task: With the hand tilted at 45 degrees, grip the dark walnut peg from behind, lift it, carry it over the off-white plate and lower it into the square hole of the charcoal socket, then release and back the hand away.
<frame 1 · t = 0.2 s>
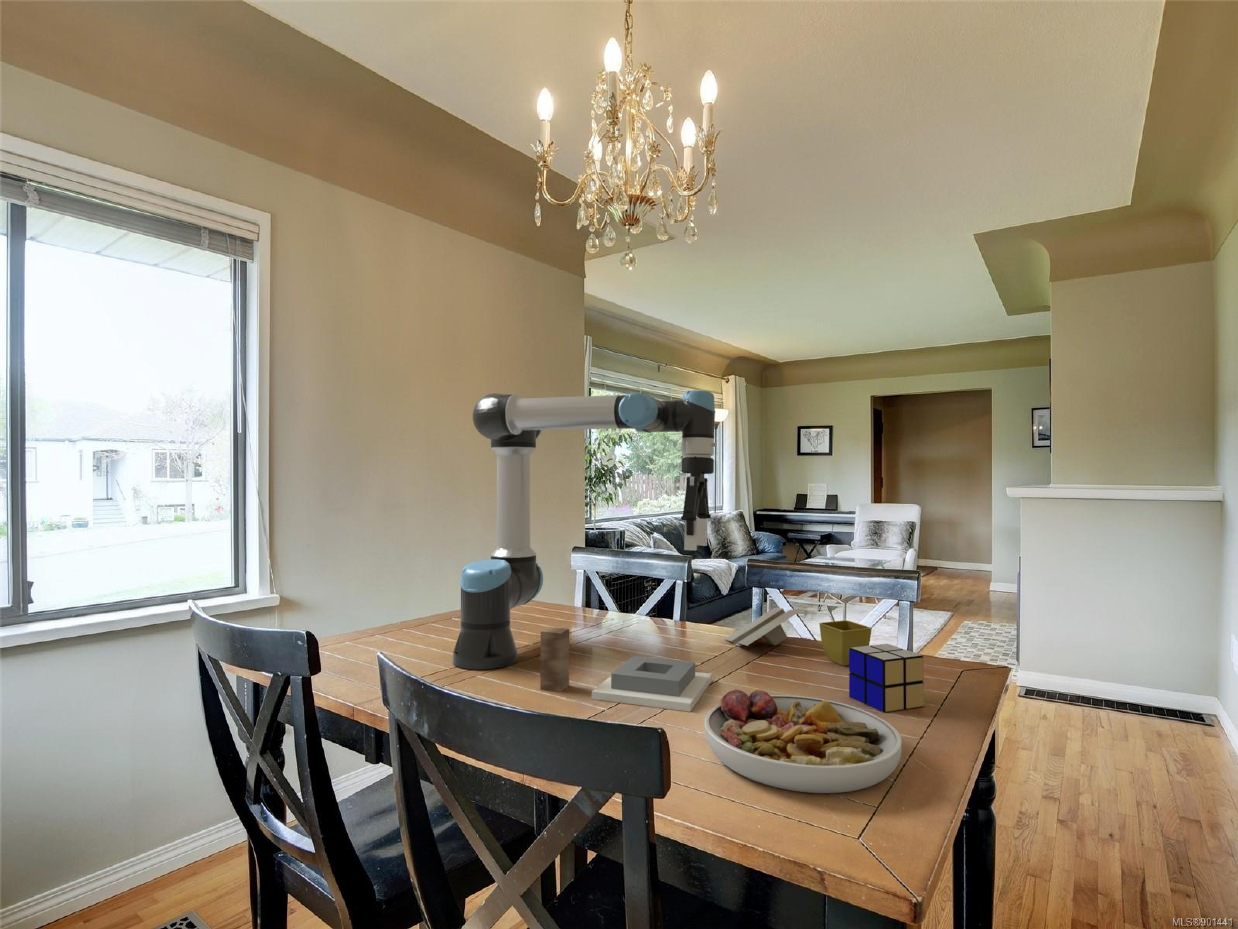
hand: (696, 547, 154), 28 cm above the table, fingers open, 13 cm apart
socket plate: (654, 689, 137), on the table
puzzle cube: (885, 703, 130), on the table
grey sloped stand: (761, 647, 173), on the table
walnut peg: (554, 687, 138), on the table
flower pot: (845, 663, 158), on the table
bowl: (799, 758, 105), on the table
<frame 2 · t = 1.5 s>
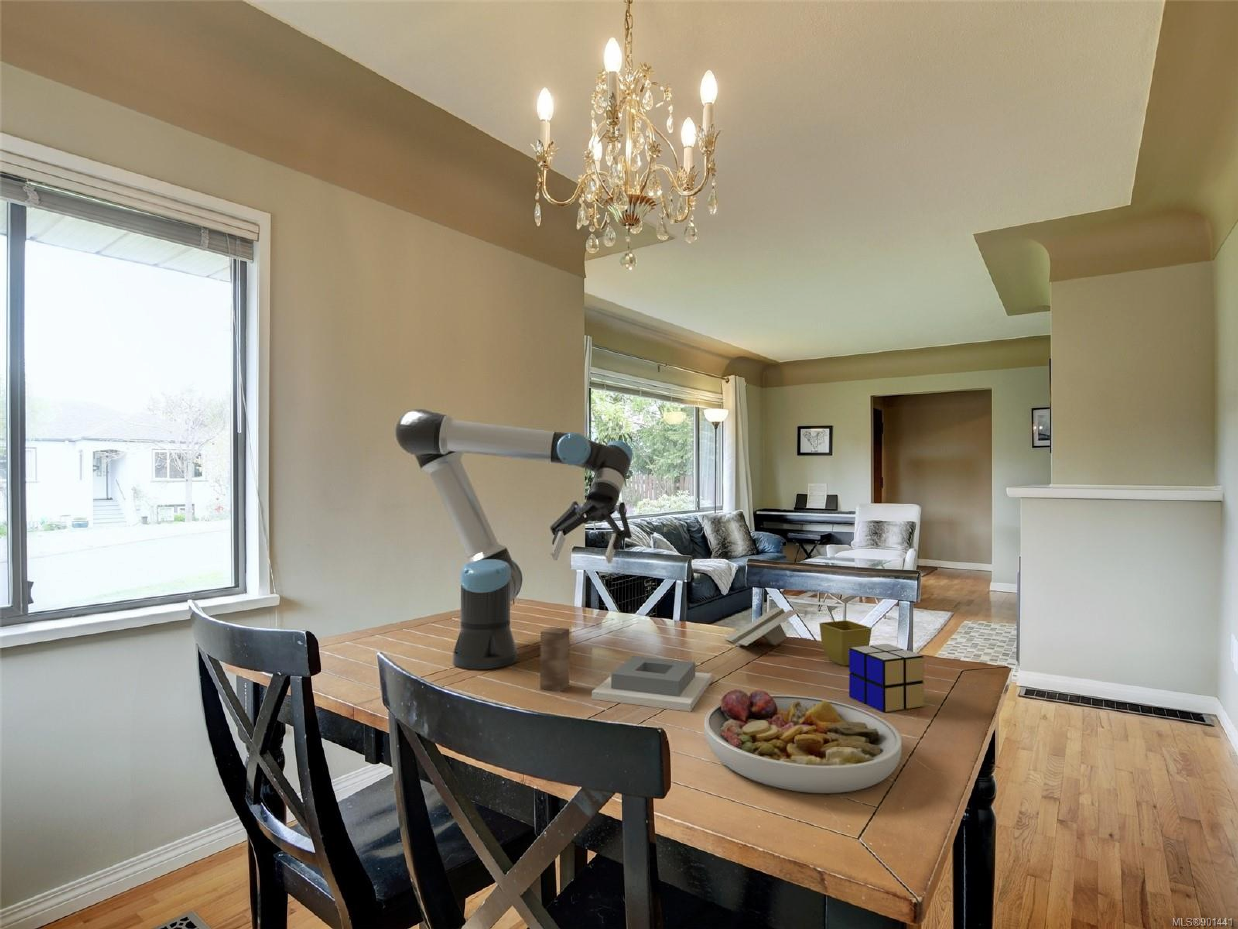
hand: (580, 558, 151), 26 cm above the table, fingers open, 13 cm apart
nothing on the table moved.
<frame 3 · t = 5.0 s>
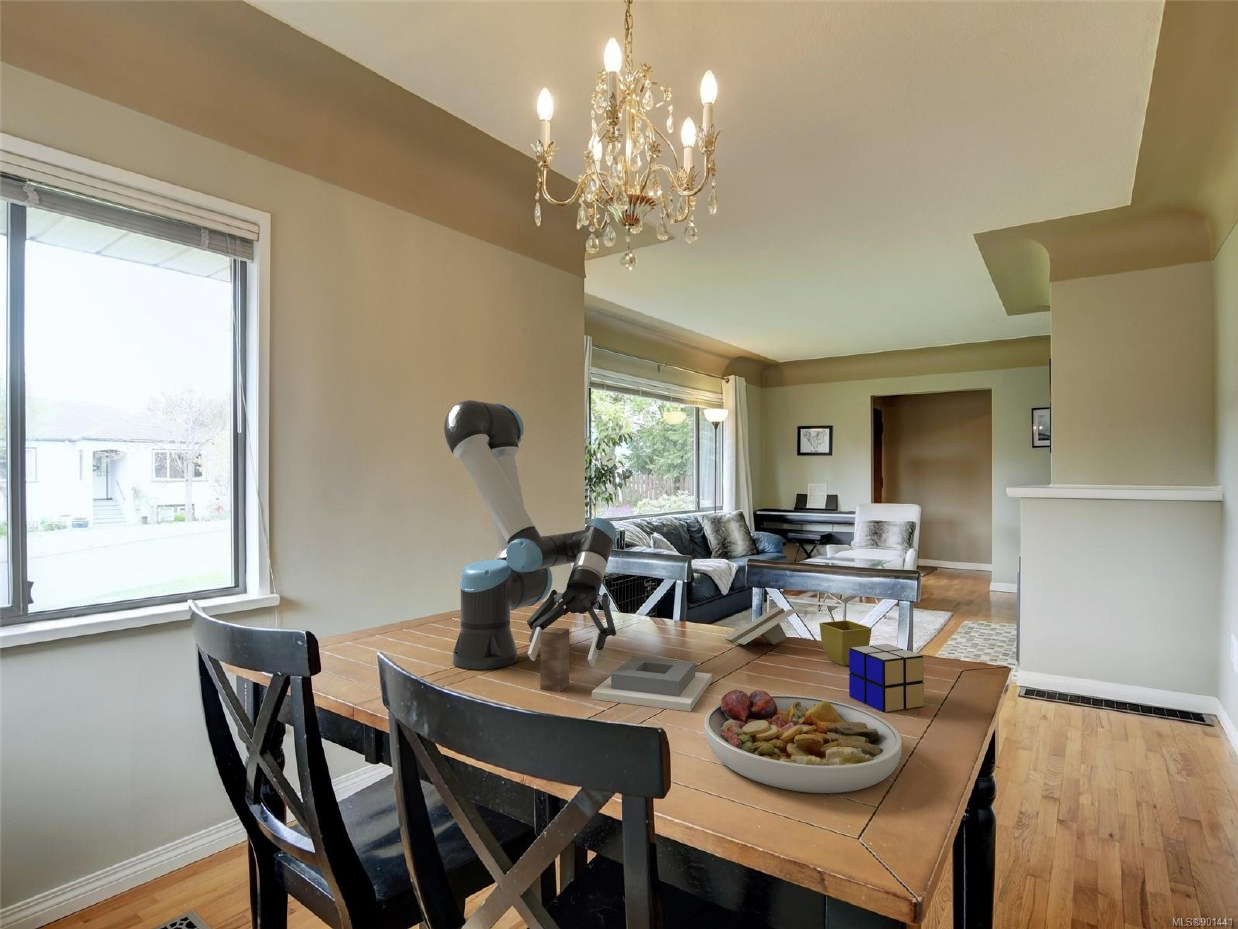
hand: (560, 660, 138), 6 cm above the table, fingers open, 13 cm apart
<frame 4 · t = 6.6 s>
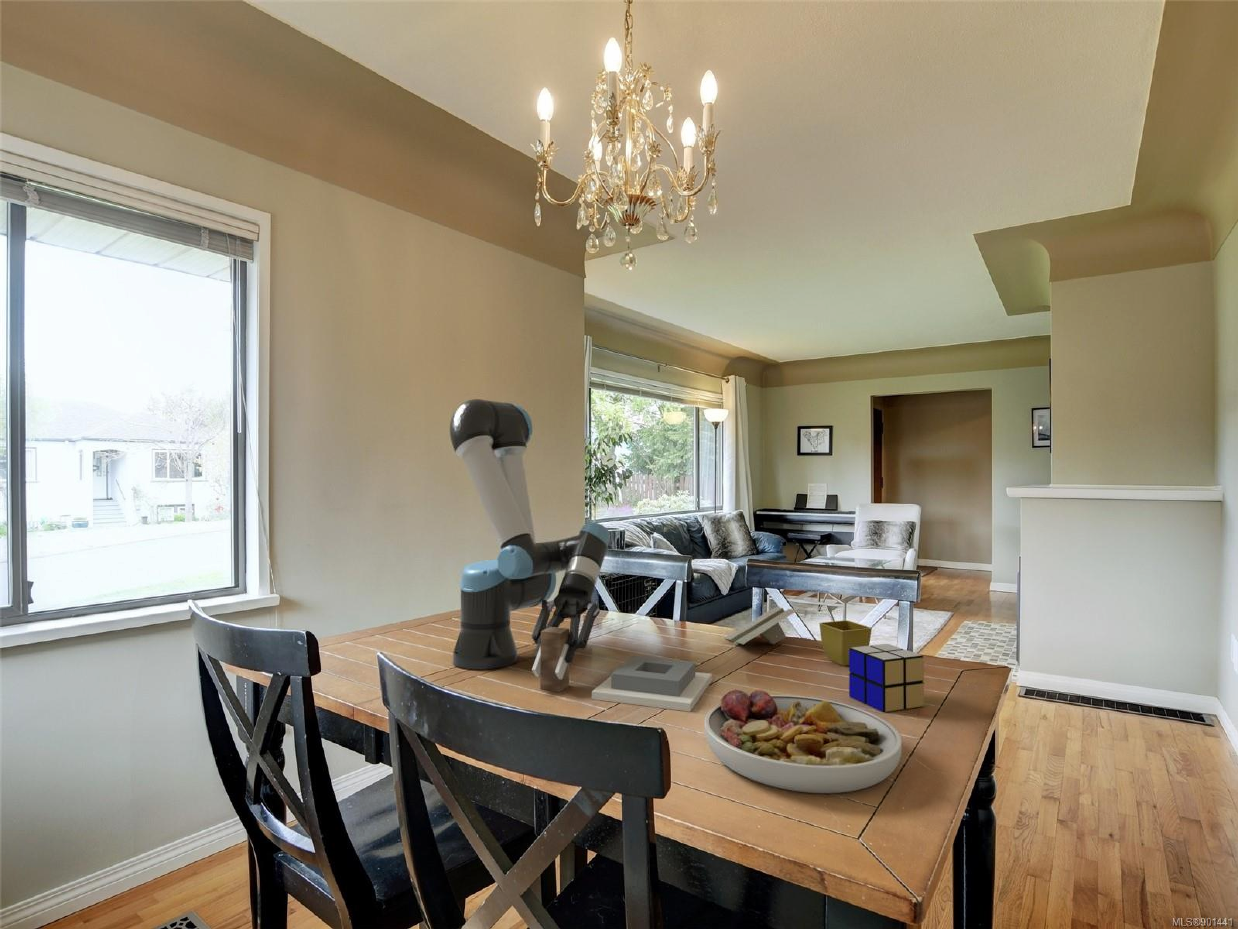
hand: (547, 674, 135), 4 cm above the table, fingers closed on walnut peg, 4 cm apart
walnut peg: (554, 687, 138), on the table, touching gripper
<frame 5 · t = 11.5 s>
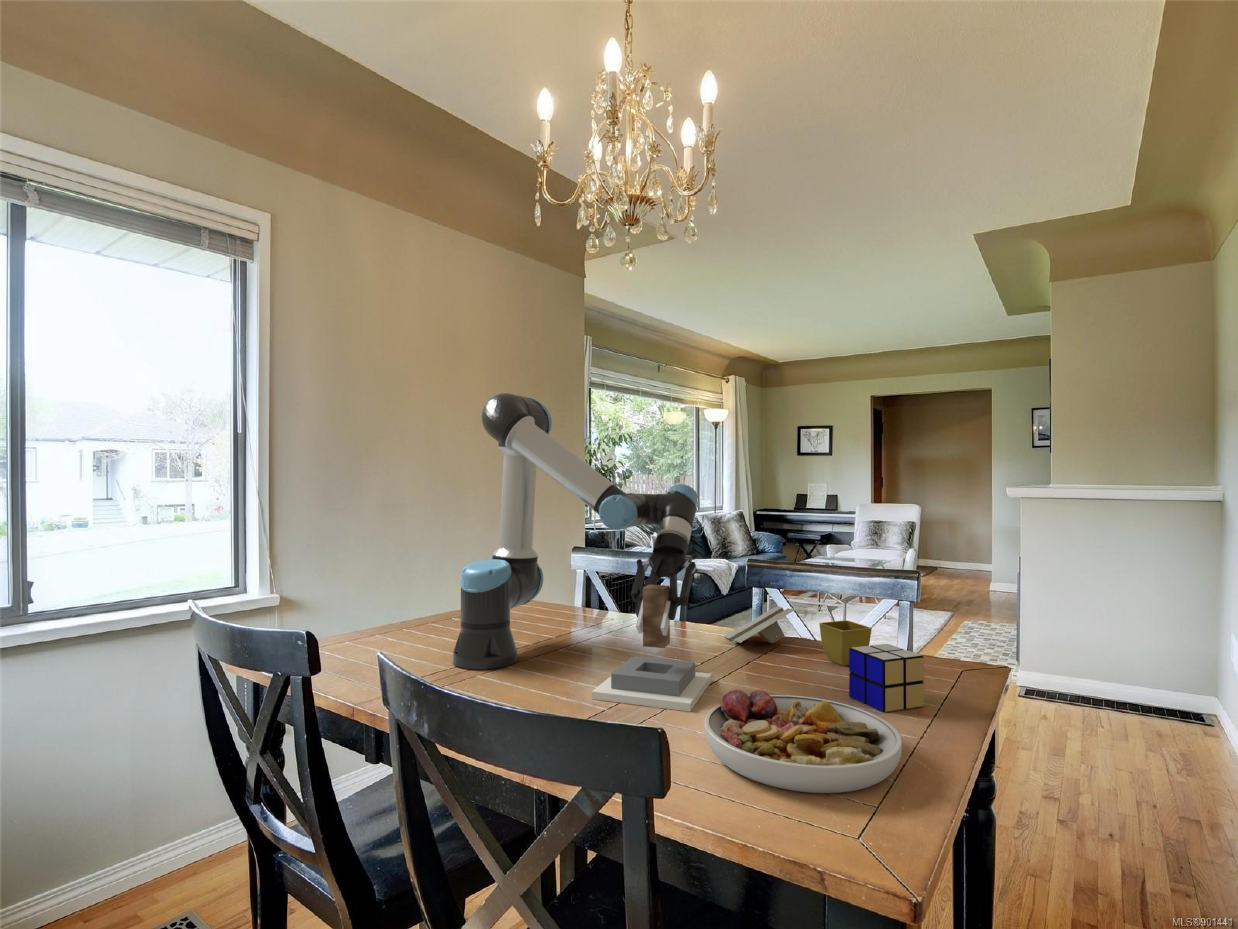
hand: (651, 630, 134), 13 cm above the table, fingers closed on walnut peg, 4 cm apart
grey sloped stand: (758, 644, 175), on the table
walnut peg: (656, 644, 137), point 9 cm above the table, touching gripper
everything else where it was.
when the fingers open (7 cm above the table, at t = 13.1 s): walnut peg drops 1 cm, resting on socket plate.
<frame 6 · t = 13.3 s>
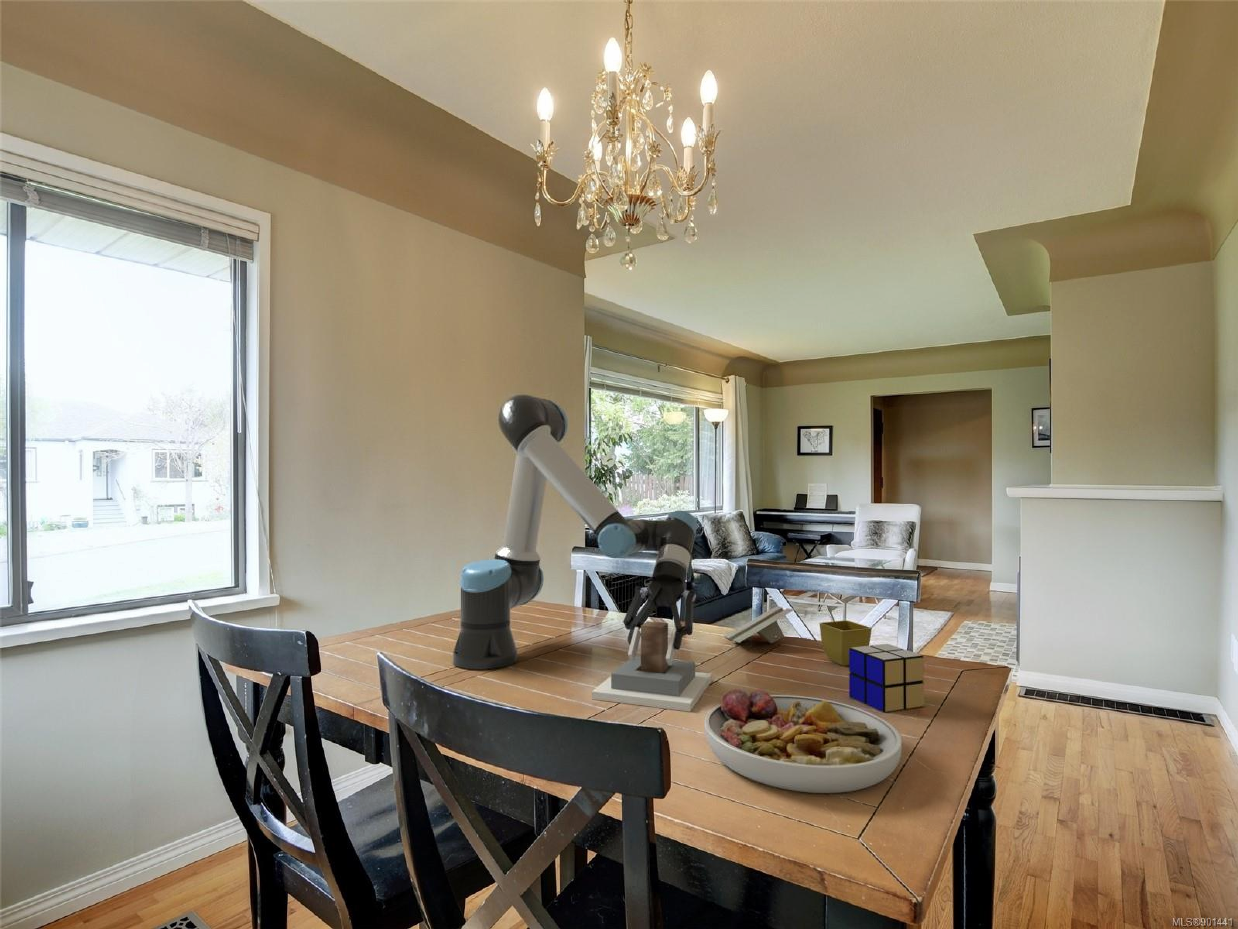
hand: (649, 659, 134), 7 cm above the table, fingers open, 7 cm apart
walnut peg: (654, 682, 137), point 1 cm above the table, touching socket plate
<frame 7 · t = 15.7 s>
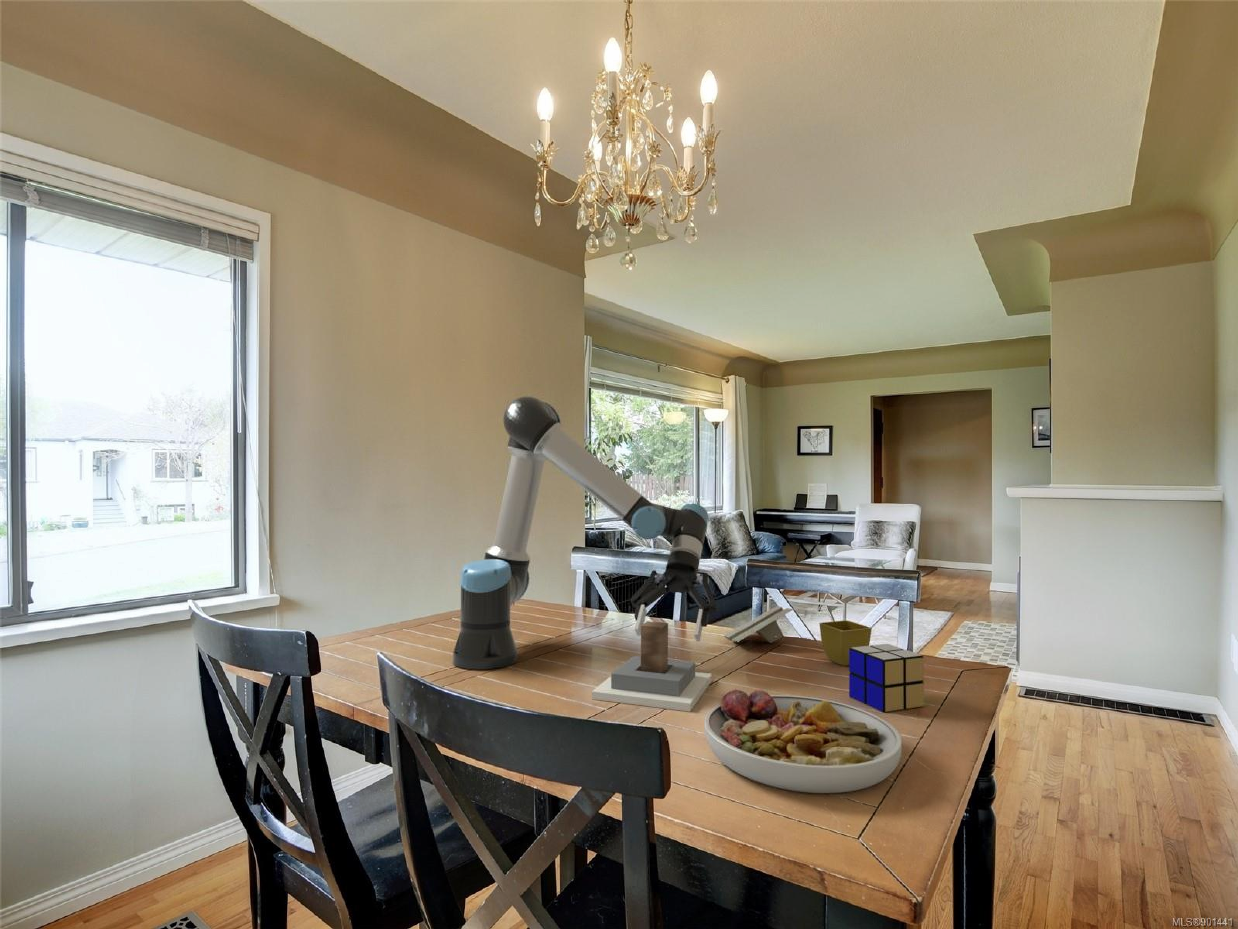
hand: (666, 635, 145), 9 cm above the table, fingers open, 13 cm apart
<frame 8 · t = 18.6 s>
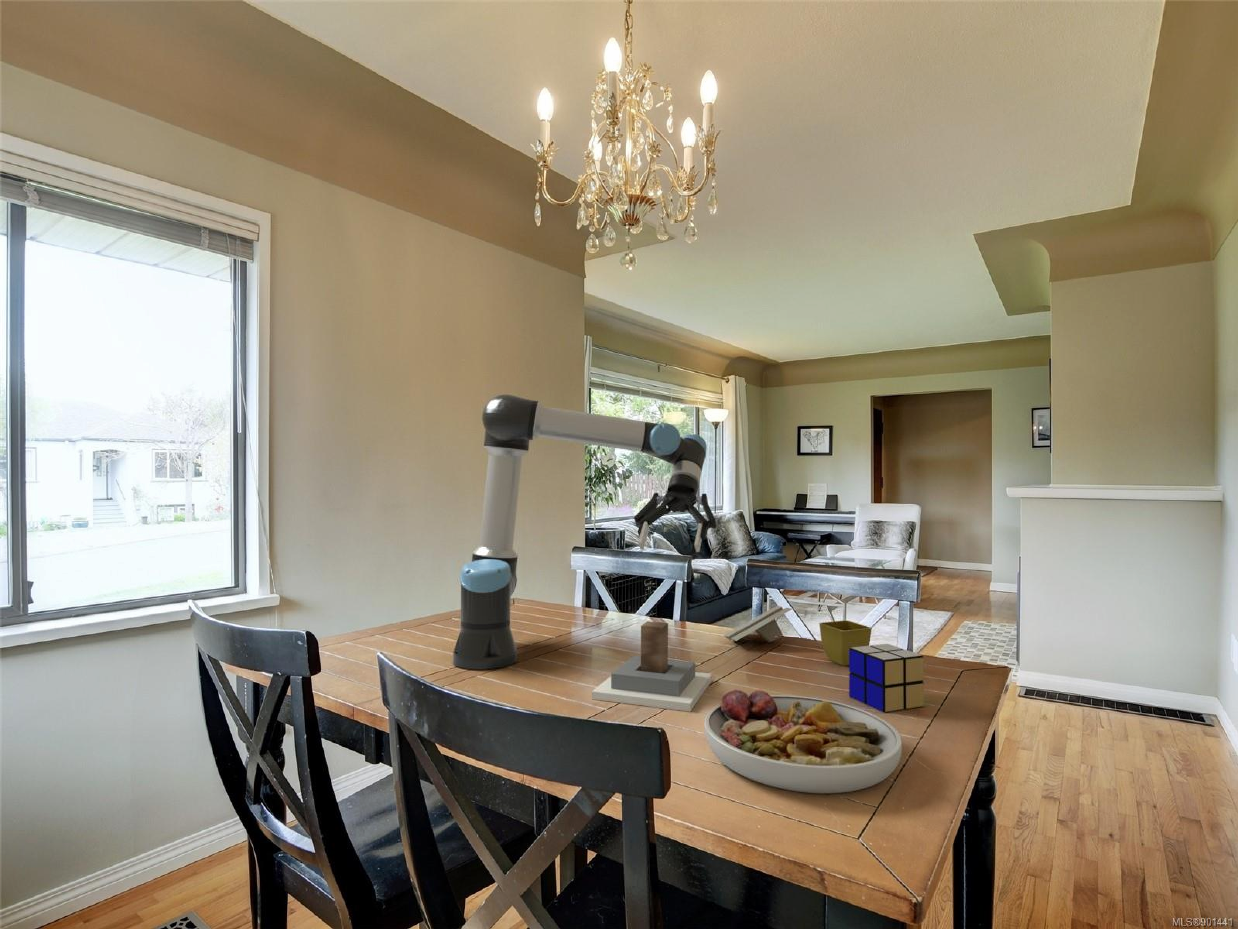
hand: (668, 547, 155), 28 cm above the table, fingers open, 13 cm apart
at the end: walnut peg 0.0 cm off-centre on the socket plate, point 1.5 cm above the socket plate's base; walnut peg tilted 0°; the gripper is holding nothing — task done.
